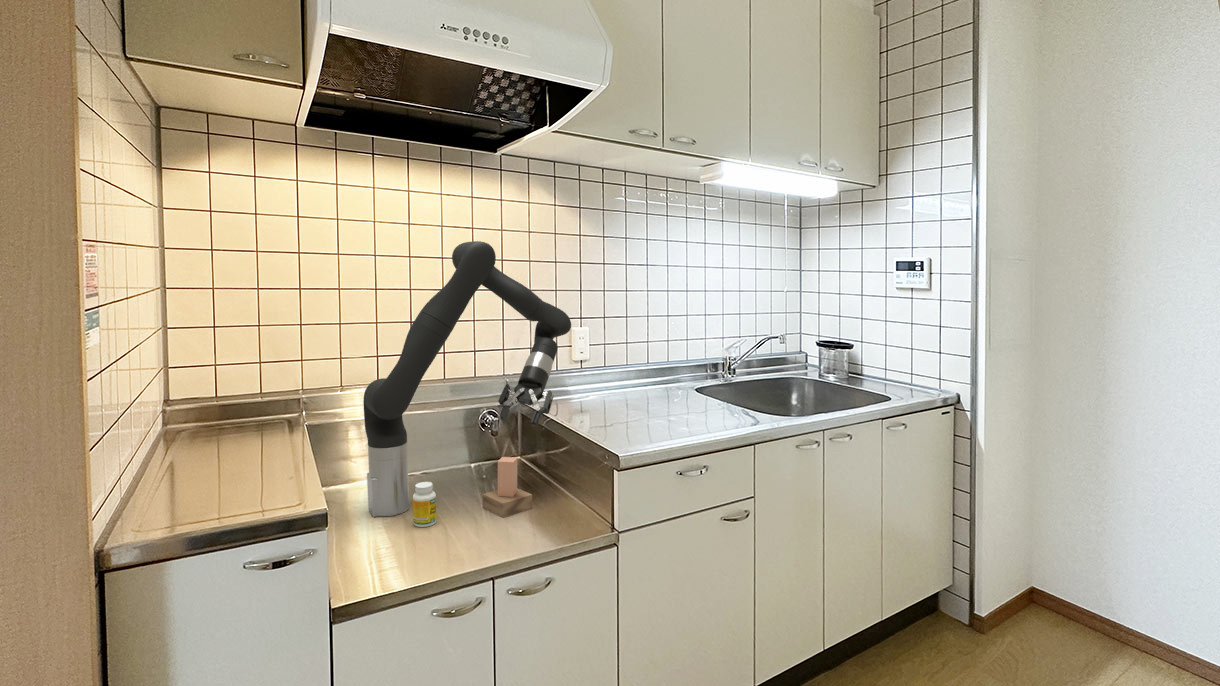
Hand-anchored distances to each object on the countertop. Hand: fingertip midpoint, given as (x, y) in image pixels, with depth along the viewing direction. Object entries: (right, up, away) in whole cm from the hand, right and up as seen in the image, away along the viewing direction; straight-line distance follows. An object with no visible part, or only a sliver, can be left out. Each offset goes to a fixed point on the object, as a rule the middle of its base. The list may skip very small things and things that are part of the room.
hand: (517, 422), depth 157 cm
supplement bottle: (-20, -22, -15) cm, 33 cm away
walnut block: (-2, -22, -5) cm, 22 cm away
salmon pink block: (-2, -17, -5) cm, 18 cm away
